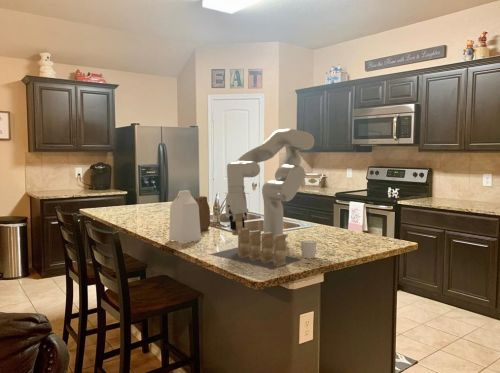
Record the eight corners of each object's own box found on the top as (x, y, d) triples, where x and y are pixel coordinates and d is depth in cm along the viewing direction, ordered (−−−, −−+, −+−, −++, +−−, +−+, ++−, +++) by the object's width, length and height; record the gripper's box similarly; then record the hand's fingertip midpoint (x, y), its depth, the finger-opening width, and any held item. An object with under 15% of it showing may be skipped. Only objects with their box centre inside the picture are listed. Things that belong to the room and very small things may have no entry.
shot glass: (301, 255, 182) (301, 239, 182) (317, 256, 180) (317, 240, 180) (299, 259, 176) (299, 243, 175) (315, 260, 174) (315, 244, 173)
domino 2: (249, 260, 172) (249, 231, 171) (257, 257, 176) (257, 230, 175) (253, 260, 171) (252, 232, 170) (260, 258, 174) (260, 230, 173)
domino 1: (238, 257, 176) (238, 229, 175) (246, 255, 180) (246, 228, 179) (241, 258, 175) (241, 230, 174) (249, 256, 179) (249, 228, 178)
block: (198, 232, 238) (198, 197, 236) (189, 230, 242) (189, 196, 241) (211, 229, 246) (211, 196, 244) (203, 228, 251) (202, 195, 249)
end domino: (232, 234, 189) (231, 209, 188) (239, 232, 193) (238, 207, 192) (235, 235, 188) (234, 209, 187) (243, 233, 192) (242, 208, 190)
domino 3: (261, 262, 168) (261, 233, 167) (269, 260, 171) (269, 231, 170) (265, 263, 166) (265, 234, 165) (272, 261, 170) (272, 232, 169)
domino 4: (273, 265, 163) (273, 235, 162) (281, 263, 167) (281, 233, 166) (277, 266, 162) (277, 236, 161) (285, 263, 166) (285, 234, 165)
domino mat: (240, 248, 197) (240, 246, 197) (302, 260, 173) (302, 259, 173) (209, 255, 182) (209, 254, 182) (272, 270, 158) (272, 269, 158)
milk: (182, 243, 207) (182, 192, 205) (169, 240, 214) (168, 191, 212) (201, 240, 216) (200, 190, 214) (187, 237, 223) (186, 189, 221)
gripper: (242, 187, 197) (244, 224, 199) (216, 191, 184) (218, 230, 186) (254, 187, 192) (255, 226, 194) (228, 192, 179) (230, 232, 181)
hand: (237, 228), depth 190 cm, fingers closed on end domino, 4 cm apart
